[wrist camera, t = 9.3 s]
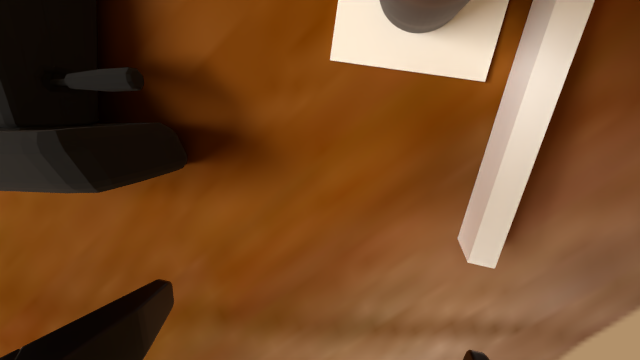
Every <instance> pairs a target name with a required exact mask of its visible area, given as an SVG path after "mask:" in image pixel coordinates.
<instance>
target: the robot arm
mask: <svg viewBox="0 0 640 360" xmlns="http://www.w3.org/2000/svg"><path fill="white" fill-rule="evenodd" d="M173 304H174V298H173V288H172V283H171V282H169V281H165V280H161V279H158V280H155V281H153V282H151V283H149V284H147V285H145V286H143V287H141V288H139V289H137V290H135V291H133V292H131V293H129V294H127V295H125V296H123V297H121V298H119V299H117V300H115V301H113V302H111V303H109V304H107V305H105V306H103V307H101V308H99V309H97V310H95V311H93V312H91V313H89V314H87V315H85V316H83V317H81V318H79V319H77V320H75V321H73V322H71V323H69V324H67V325H65V326H63V327H61V328H59V329H57V330H55V331H53V332H51V333H49V334H47V335H45V336H43V337H41V338H39V339H37V340H35V341H33V342H31V343H29V344H27V345H25V346H23V347H22V348H21V349H17V350H15V351H13V352H11V353H9V354H7V355H5V356H3V357H1V358H0V360H143V359H144V357H145V355H146V354H147V352H148V350H149V349H150V347H151V345H152V343H153V342H154V340H155V338H156V336H157V334H158V333H159V331H160V329H161V327H162V325H163V324H164V322H165V320H166V318H167V316H168V315H169V313H170V311H171V309H172V307H173ZM463 360H489V358H488V357H487V356H486V355H485V354H484V353H482V352H478V351H473V350H468V351H467V352H466V354H465V356H464V359H463Z"/></svg>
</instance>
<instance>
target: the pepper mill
mask: <svg viewBox="0 0 640 360" xmlns="http://www.w3.org/2000/svg"><path fill="white" fill-rule="evenodd" d="M379 1H380V5H381V7H382V10H383V12H384V14H385V16H386V17H387V18H388V20H389V21H390V22H391V23H392V24H393V25H395V26H396V27H397V28H399V29H401V30H403V31H406V32H410V33H426V32H431V31H434V30H436V29H438V28H440V27H442V26H444V25H445V24H447V23H448V22H449V21H450V20H452V19H453V18H454V17H455V16H456V15H457V14H458V12H459V11H460V10H461V9H462V8H463V7H464V6H465V5H466V4H467V3H468V2H469V1H470V0H379Z"/></svg>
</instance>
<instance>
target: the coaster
mask: <svg viewBox="0 0 640 360" xmlns="http://www.w3.org/2000/svg"><path fill="white" fill-rule="evenodd" d="M508 2H509V0H470V1H469V2H468V3H467V4H466V5H465V6H464V7H463V8H462V9H461V10H460V11H459V12H458V14H457V15H456V16H455V17H454V18H453V19H452V20H450V21H449V22H448V23H447V24H445V25H444V26H442V27H440V28H438V29H436V30H434V31H431V32H426V33H410V32H406V31H403V30H401V29H399V28H397V27H396V26H395V25H393V24H392V23H391V22H390V21H389V20H388V18H387V17H386V16H385V14H384V12H383V10H382V7H381V5H380V1H379V0H338V7H337V14H336V21H335V28H334V35H333V43H332V50H331V57H330V60H331V61H338V62H345V63H352V64H360V65H367V66H374V67H381V68H388V69H395V70H403V71H410V72H417V73H424V74H431V75H438V76H446V77H453V78H460V79H467V80H474V81H481V82H485V80H486V77H487V74H488V70H489V67H490V63H491V60H492V57H493V53H494V50H495V46H496V43H497V40H498V36H499V33H500V29H501V26H502V23H503V19H504V16H505V12H506V9H507V6H508Z"/></svg>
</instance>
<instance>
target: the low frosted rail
mask: <svg viewBox="0 0 640 360" xmlns="http://www.w3.org/2000/svg"><path fill="white" fill-rule="evenodd" d="M594 1H595V0H533V2H532V5H531V8H530V11H529V14H528V17H527V21H526V24H525V27H524V30H523V33H522V36H521V40H520V43H519V46H518V49H517V52H516V55H515V59H514V62H513V65H512V68H511V71H510V74H509V78H508V81H507V84H506V87H505V90H504V93H503V96H502V100H501V103H500V106H499V109H498V112H497V115H496V119H495V122H494V125H493V128H492V131H491V134H490V138H489V141H488V144H487V147H486V150H485V153H484V157H483V160H482V163H481V166H480V169H479V172H478V176H477V179H476V182H475V185H474V188H473V191H472V195H471V198H470V201H469V204H468V207H467V210H466V214H465V217H464V220H463V223H462V226H461V229H460V232H459V236H458V241H459V243H460V246H461V248H462V250H463V253H464V255H465V257H466V260H467V262H468V263H472V264H477V265H481V266H485V267H490V268H494V269H495V267H496V264H497V261H498V259H499V256H500V253H501V251H502V248H503V245H504V243H505V240H506V237H507V235H508V232H509V229H510V227H511V224H512V221H513V218H514V216H515V213H516V210H517V208H518V205H519V202H520V200H521V197H522V194H523V192H524V189H525V186H526V184H527V181H528V178H529V176H530V173H531V170H532V167H533V165H534V162H535V159H536V157H537V154H538V151H539V149H540V146H541V143H542V141H543V138H544V135H545V133H546V130H547V127H548V125H549V122H550V119H551V116H552V114H553V111H554V108H555V106H556V103H557V100H558V98H559V95H560V92H561V90H562V87H563V84H564V82H565V79H566V76H567V74H568V71H569V68H570V65H571V63H572V60H573V57H574V55H575V52H576V49H577V47H578V44H579V41H580V39H581V36H582V33H583V31H584V28H585V25H586V23H587V20H588V17H589V14H590V12H591V9H592V6H593V4H594Z"/></svg>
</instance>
